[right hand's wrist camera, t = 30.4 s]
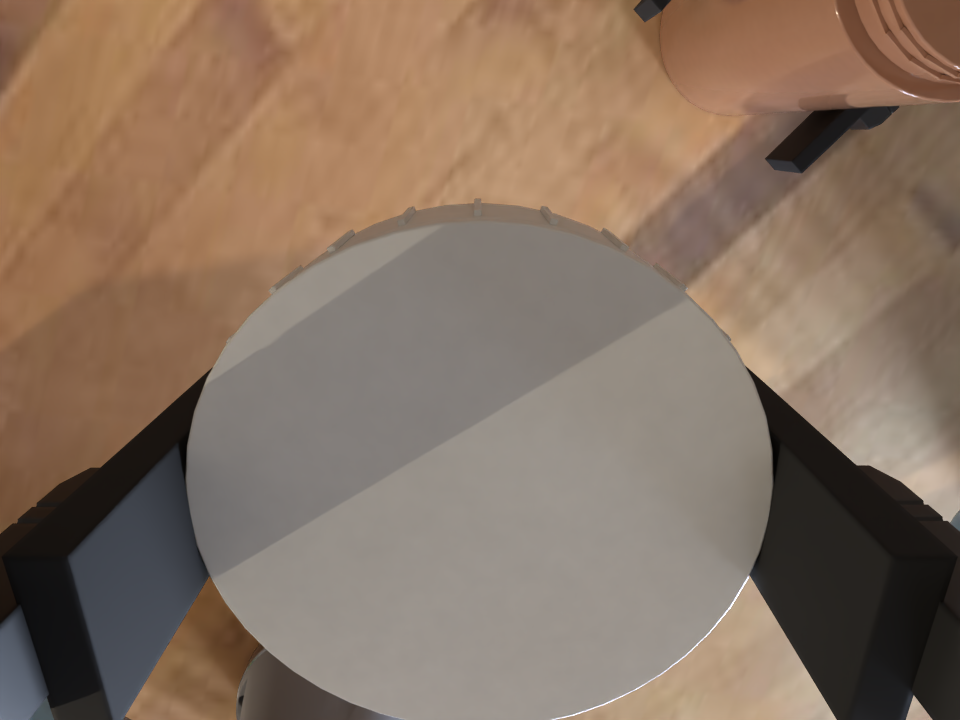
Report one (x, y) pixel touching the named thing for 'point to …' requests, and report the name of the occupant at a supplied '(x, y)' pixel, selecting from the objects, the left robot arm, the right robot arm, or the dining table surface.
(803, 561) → the right robot arm
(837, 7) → the jar
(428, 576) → the lid
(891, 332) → the dining table surface
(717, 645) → the dining table surface
